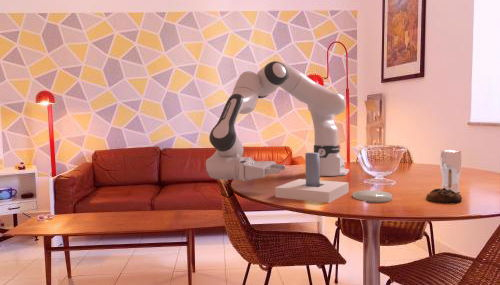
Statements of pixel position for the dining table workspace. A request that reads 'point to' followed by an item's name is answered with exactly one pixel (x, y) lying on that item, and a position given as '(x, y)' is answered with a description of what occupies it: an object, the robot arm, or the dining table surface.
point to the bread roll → (444, 196)
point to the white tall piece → (450, 169)
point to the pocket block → (312, 191)
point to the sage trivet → (373, 196)
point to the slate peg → (312, 169)
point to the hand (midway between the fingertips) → (282, 169)
